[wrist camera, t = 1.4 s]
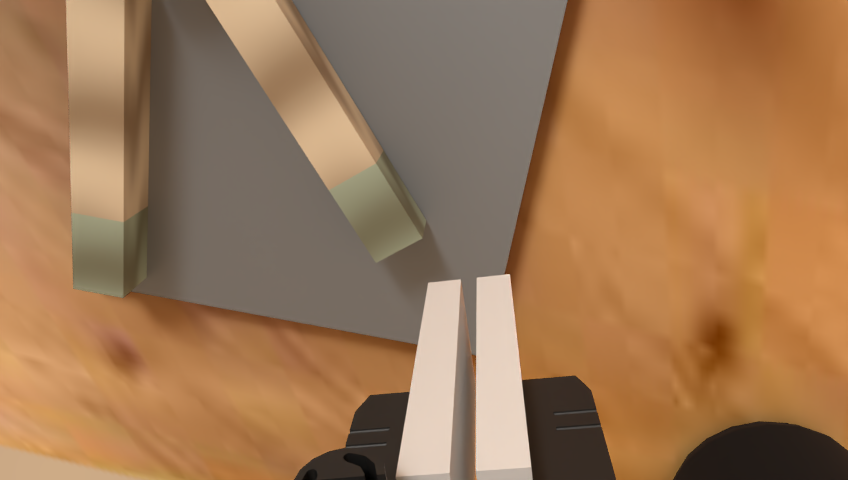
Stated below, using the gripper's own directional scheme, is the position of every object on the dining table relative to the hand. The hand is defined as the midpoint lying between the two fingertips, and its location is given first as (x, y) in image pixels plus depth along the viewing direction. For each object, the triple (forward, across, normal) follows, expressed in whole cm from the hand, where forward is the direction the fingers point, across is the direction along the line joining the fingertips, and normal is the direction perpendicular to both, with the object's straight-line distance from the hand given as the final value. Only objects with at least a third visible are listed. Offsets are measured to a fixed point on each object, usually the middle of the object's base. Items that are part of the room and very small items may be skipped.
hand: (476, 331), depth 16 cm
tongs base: (+17, -15, +5) cm, 23 cm away
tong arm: (+17, -7, +4) cm, 19 cm away
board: (+18, -8, +3) cm, 20 cm away
